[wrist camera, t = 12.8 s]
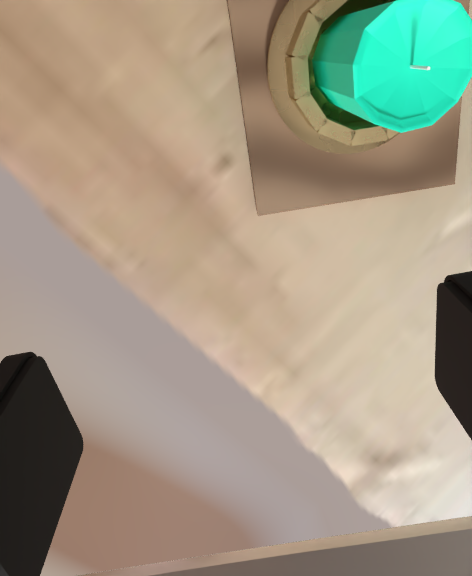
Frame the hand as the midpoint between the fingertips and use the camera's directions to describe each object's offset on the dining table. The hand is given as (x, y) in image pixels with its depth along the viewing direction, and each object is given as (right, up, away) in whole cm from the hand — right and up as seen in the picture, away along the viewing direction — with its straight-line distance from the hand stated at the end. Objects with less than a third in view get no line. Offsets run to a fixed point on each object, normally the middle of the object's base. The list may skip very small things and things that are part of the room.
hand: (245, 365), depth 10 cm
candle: (+8, +17, +20) cm, 28 cm away
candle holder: (+8, +18, +21) cm, 28 cm away
